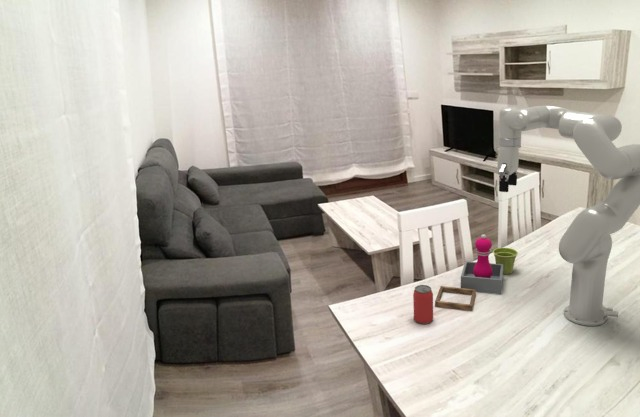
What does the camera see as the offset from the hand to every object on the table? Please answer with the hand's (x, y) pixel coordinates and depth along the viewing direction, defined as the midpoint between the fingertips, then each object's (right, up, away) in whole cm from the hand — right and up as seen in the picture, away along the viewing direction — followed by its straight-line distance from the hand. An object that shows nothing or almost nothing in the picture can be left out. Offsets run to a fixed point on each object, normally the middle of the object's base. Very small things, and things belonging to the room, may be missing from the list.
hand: (507, 188), depth 178 cm
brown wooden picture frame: (-19, -41, +1) cm, 46 cm away
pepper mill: (-6, -36, +11) cm, 39 cm away
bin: (-6, -37, +12) cm, 39 cm away
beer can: (-33, -46, -10) cm, 58 cm away
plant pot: (+7, -34, +21) cm, 40 cm away
